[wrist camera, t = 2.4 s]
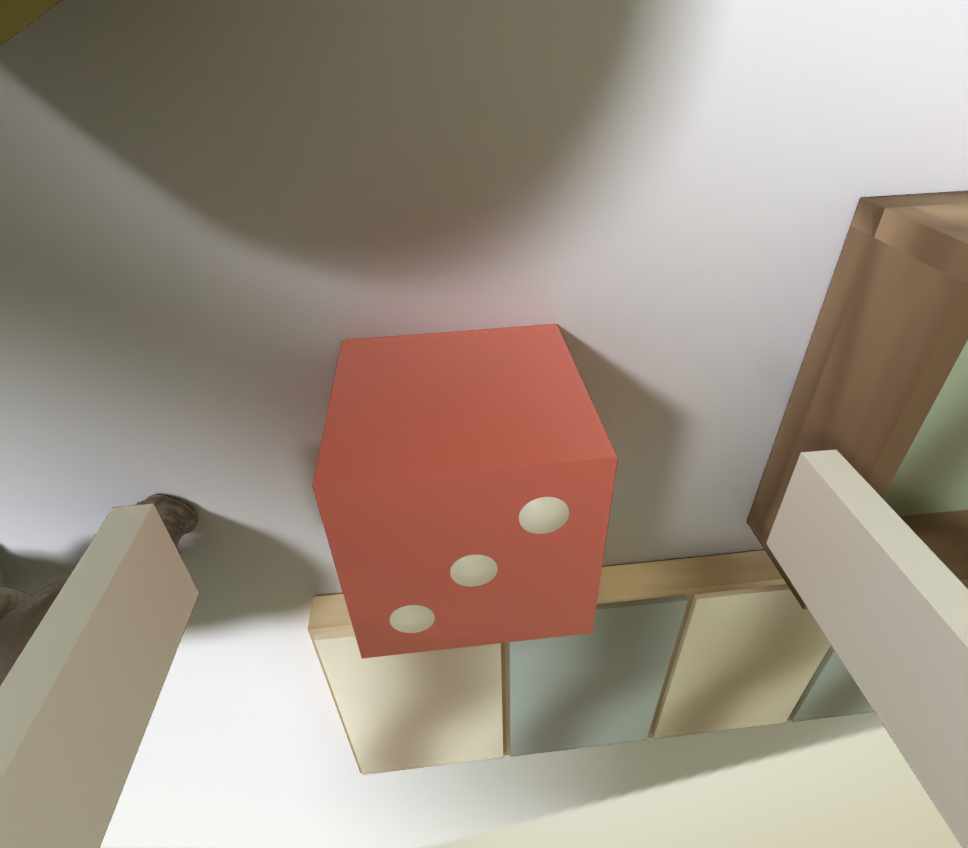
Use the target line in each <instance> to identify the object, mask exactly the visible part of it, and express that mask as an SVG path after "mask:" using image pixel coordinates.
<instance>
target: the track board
mask: <svg viewBox="0 0 968 848" xmlns="http://www.w3.org/2000/svg"><path fill="white" fill-rule="evenodd" d="M308 631H309V634H310V636H311V639H312V642H313V645H314V647H315V650H316V653H317V656H318V658H319V661H320V664H321V666H322V669H323V672H324V675H325V677H326V680H327V683H328V686H329V688H330V691H331V694H332V696H333V699H334V702H335V705H336V707H337V710H338V713H339V716H340V718H341V721H342V724H343V726H344V729H345V732H346V735H347V737H348V740H349V743H350V746H351V748H352V751H353V754H354V756H355V759H356V762H357V765H358V767H359V770H360V773H362V774H363V775H365V774H373V773H381V772H389V771H397V770H406V769H414V768H422V767H430V766H438V765H446V764H454V763H462V762H470V761H479V760H487V759H495V758H503V756H504V755H510V756H519V755H527V754H535V753H543V752H552V751H560V750H568V749H576V748H584V747H592V746H600V745H608V744H616V743H625V742H633V741H641V740H647V738H650V737H653V739H657V738H665V737H673V736H681V735H689V734H698V733H706V732H714V731H722V730H730V729H738V728H746V727H754V726H763V725H771V724H779V723H785V722H786V721H788V720H791V721H792V722H795V721H803V720H811V719H819V718H827V717H836V716H844V715H852V714H860V713H868V712H874V710H873V709H872V707H871V705H870V704H869V702H868V701H867V699H866V698H865V696H864V695H863V693H862V691H861V690H860V688H859V687H858V685H857V684H856V682H855V681H854V679H853V678H852V676H851V674H850V673H849V671H848V670H847V668H846V667H845V665H844V664H843V662H842V660H841V659H840V657H839V656H838V654H837V653H836V651H835V650H834V648H833V646H832V645H831V643H830V642H829V640H828V639H827V637H826V636H825V634H824V632H823V631H822V629H821V628H820V626H819V625H818V623H817V622H816V620H815V618H814V617H813V615H812V614H811V612H810V611H809V609H806V610H803V609H802V607H801V605H800V604H799V602H798V601H797V599H796V598H795V596H794V595H793V593H792V592H791V590H790V588H789V587H788V585H787V584H786V582H785V581H784V579H783V578H782V576H781V574H780V573H779V571H778V570H777V568H776V567H775V565H774V564H773V562H772V561H771V559H770V557H769V556H768V554H767V553H766V551H765V550H761V551H752V552H742V553H732V554H723V555H713V556H703V557H693V558H684V559H674V560H664V561H655V562H645V563H635V564H625V565H616V566H606V567H602V571H601V578H600V585H599V592H598V599H597V606H596V613H595V620H594V627H593V633H589V634H580V635H571V636H562V637H553V638H544V639H535V640H525V641H516V642H507V643H498V644H489V645H480V646H471V647H462V648H453V649H444V650H435V651H426V652H417V653H408V654H399V655H390V656H381V657H372V658H363V659H362V658H361V654H360V651H359V647H358V644H357V640H356V637H355V633H354V630H353V626H352V623H351V619H350V616H349V612H348V609H347V605H346V602H345V598H344V595H343V594H334V595H324V596H314V597H313V602H312V608H311V614H310V620H309V626H308Z"/></svg>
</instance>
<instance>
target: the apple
mask: <svg viewBox="0 0 968 848" xmlns="http://www.w3.org/2000/svg"><path fill="white" fill-rule="evenodd" d="M60 1H62V0H0V46H1V45H2V44H3V43H5V42H6V41H7V40H9V39H10V38H11V37H13V36H14V35H16V34H17V33H18V32H20V31H21V30H22V29H24V28H25V27H26V26H28V25H29V24H30V23H32V22H33V21H35V20H36V19H37V18H39V17H40V16H41V15H43V14H44V13H45V12H47V11H48V10H49V9H51V8H52V7H54V6H55V5H56V4H58V3H59V2H60Z"/></svg>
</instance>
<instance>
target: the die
mask: <svg viewBox="0 0 968 848" xmlns="http://www.w3.org/2000/svg"><path fill="white" fill-rule="evenodd" d="M617 459H618V457H617V455H616V453H615V450H614V448H613V446H612V444H611V442H610V439H609V437H608V435H607V433H606V431H605V428H604V426H603V424H602V422H601V420H600V417H599V415H598V413H597V411H596V409H595V406H594V404H593V402H592V400H591V398H590V395H589V393H588V391H587V389H586V387H585V384H584V382H583V380H582V378H581V376H580V373H579V371H578V369H577V367H576V365H575V362H574V360H573V358H572V356H571V354H570V351H569V349H568V347H567V345H566V343H565V340H564V338H563V336H562V334H561V332H560V329H559V327H558V325H557V324H549V325H535V326H522V327H509V328H495V329H482V330H469V331H455V332H442V333H429V334H415V335H402V336H389V337H375V338H362V339H349V340H342V343H341V348H340V353H339V357H338V362H337V367H336V372H335V377H334V382H333V387H332V391H331V396H330V401H329V406H328V411H327V416H326V421H325V425H324V430H323V435H322V440H321V445H320V450H319V455H318V459H317V464H316V469H315V474H314V479H313V484H312V486H313V490H314V493H315V497H316V500H317V504H318V507H319V511H320V514H321V518H322V521H323V525H324V528H325V532H326V535H327V539H328V542H329V546H330V549H331V553H332V556H333V560H334V563H335V567H336V570H337V574H338V577H339V581H340V584H341V588H342V591H343V595H344V598H345V602H346V605H347V609H348V612H349V616H350V619H351V623H352V626H353V630H354V633H355V637H356V640H357V644H358V647H359V651H360V654H361V658H362V659H363V658H372V657H381V656H390V655H399V654H408V653H417V652H426V651H435V650H444V649H453V648H462V647H471V646H480V645H489V644H498V643H507V642H516V641H525V640H535V639H544V638H553V637H562V636H571V635H580V634H589V633H593V627H594V620H595V613H596V606H597V599H598V592H599V585H600V578H601V571H602V564H603V557H604V550H605V543H606V536H607V529H608V522H609V515H610V508H611V501H612V494H613V487H614V480H615V473H616V466H617Z"/></svg>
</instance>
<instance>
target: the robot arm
mask: <svg viewBox="0 0 968 848" xmlns="http://www.w3.org/2000/svg"><path fill="white" fill-rule="evenodd" d="M766 544H767V545H768V547H769V548H770V550H771V552H772V553H773V555H774V556H775V558H776V559H777V561H778V562H779V564H780V566H781V567H782V569H783V570H784V572H785V573H786V575H787V576H788V578H789V580H790V581H791V583H792V584H793V586H794V587H795V589H796V590H797V592H798V594H799V595H800V597H801V598H802V600H803V601H804V603H805V604H806V606H807V608H808V609H809V611H810V612H811V614H812V615H813V617H814V618H815V620H816V622H817V623H818V625H819V626H820V628H821V629H822V631H823V632H824V634H825V636H826V637H827V639H828V640H829V642H830V643H831V645H832V646H833V648H834V650H835V651H836V653H837V654H838V656H839V657H840V659H841V660H842V662H843V664H844V665H845V667H846V668H847V670H848V671H849V673H850V674H851V676H852V678H853V679H854V681H855V682H856V684H857V685H858V687H859V688H860V690H861V691H862V693H863V695H864V696H865V698H866V699H867V701H868V702H869V704H870V705H871V707H872V709H873V710H874V712H875V713H876V715H877V716H878V718H879V719H880V721H881V723H882V724H883V726H884V727H885V729H886V730H887V732H888V733H889V735H890V737H891V738H892V740H893V741H894V743H895V744H896V746H897V747H898V749H899V751H900V752H901V754H902V755H903V757H904V758H905V760H906V761H907V763H908V764H909V766H910V768H911V769H912V771H913V772H914V774H915V775H916V777H917V779H918V780H919V782H920V783H921V785H922V786H923V788H924V789H925V791H926V793H927V794H928V796H929V797H930V799H931V800H932V802H933V803H934V805H935V807H936V808H937V810H938V811H939V813H940V814H941V816H942V817H943V819H944V820H945V822H946V824H947V825H948V827H949V828H950V830H951V831H952V833H953V835H954V836H955V838H956V839H957V841H958V842H959V843H960V845H961V847H962V848H968V589H967V588H966V587H965V586H964V585H963V584H962V582H961V581H960V580H959V579H958V578H957V577H956V576H955V575H954V574H953V573H952V572H951V571H950V570H949V569H948V568H947V567H946V566H945V564H944V563H943V562H942V561H941V560H940V559H939V558H938V557H937V556H936V555H935V554H934V553H933V552H932V551H931V550H930V549H929V547H928V546H927V545H926V544H925V543H924V542H923V541H922V540H921V539H920V538H919V537H918V536H917V535H916V534H915V533H914V532H913V530H912V529H911V528H910V527H909V526H908V525H907V524H906V523H905V522H904V521H903V520H902V519H901V518H900V517H899V516H898V515H897V513H896V512H895V511H894V510H893V509H892V508H891V507H890V506H889V505H888V504H887V503H886V502H885V501H884V500H883V499H882V498H881V496H880V495H879V494H878V493H877V492H876V491H875V490H874V489H873V488H872V487H871V486H870V485H869V484H868V483H867V482H866V481H865V480H864V478H863V477H862V476H861V475H860V474H859V473H858V472H857V471H856V470H855V469H854V468H853V467H852V466H851V465H850V464H849V463H848V461H847V460H846V459H845V458H844V457H843V456H842V455H841V454H840V453H839V452H838V451H837V450H825V451H812V452H801V453H800V456H799V458H798V461H797V464H796V466H795V469H794V472H793V474H792V477H791V479H790V482H789V485H788V487H787V490H786V493H785V495H784V498H783V501H782V503H781V506H780V508H779V511H778V514H777V516H776V519H775V522H774V524H773V527H772V530H771V532H770V535H769V537H768V540H767V543H766ZM198 595H199V592H198V590H197V588H196V586H195V584H194V582H193V580H192V578H191V576H190V574H189V572H188V570H187V568H186V566H185V564H184V562H183V560H182V558H181V556H180V555H179V553H178V551H177V549H176V547H175V545H174V543H173V541H172V539H171V537H170V535H169V533H168V531H167V529H166V527H165V525H164V523H163V521H162V519H161V517H160V516H159V514H158V512H157V510H156V508H155V506H154V504H145V505H132V506H119V507H113V508H112V510H111V512H110V513H109V515H108V516H107V518H106V519H105V521H104V523H103V524H102V526H101V527H100V529H99V531H98V532H97V534H96V535H95V537H94V538H93V540H92V542H91V543H90V545H89V546H88V548H87V550H86V551H85V553H84V554H83V556H82V557H81V559H80V561H79V562H78V564H77V565H76V567H75V569H74V570H73V572H72V573H71V575H70V577H69V578H68V580H67V581H66V583H65V584H64V586H63V588H62V589H61V591H60V592H59V594H58V596H57V597H56V599H55V600H54V602H53V603H52V605H51V607H50V608H49V610H48V611H47V613H46V615H45V616H44V618H43V619H42V621H41V622H40V624H39V626H38V627H37V629H36V630H35V632H34V634H33V635H32V637H31V638H30V640H29V641H28V643H27V645H26V646H25V648H24V649H23V651H22V653H21V654H20V656H19V657H18V659H17V660H16V662H15V664H14V665H13V667H12V668H11V670H10V672H9V673H8V675H7V676H6V678H5V680H4V681H3V683H2V684H1V686H0V848H100V846H101V843H102V841H103V838H104V836H105V833H106V831H107V828H108V825H109V823H110V820H111V818H112V815H113V813H114V810H115V807H116V805H117V802H118V800H119V797H120V795H121V792H122V790H123V787H124V784H125V782H126V779H127V777H128V774H129V772H130V769H131V766H132V764H133V761H134V759H135V756H136V754H137V751H138V748H139V746H140V743H141V741H142V738H143V736H144V733H145V731H146V728H147V725H148V723H149V720H150V718H151V715H152V713H153V710H154V707H155V705H156V702H157V700H158V697H159V695H160V692H161V689H162V687H163V684H164V682H165V679H166V677H167V674H168V672H169V669H170V666H171V664H172V661H173V659H174V656H175V654H176V651H177V648H178V646H179V643H180V641H181V638H182V636H183V633H184V630H185V628H186V625H187V623H188V620H189V618H190V615H191V612H192V610H193V607H194V605H195V602H196V600H197V597H198Z"/></svg>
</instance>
